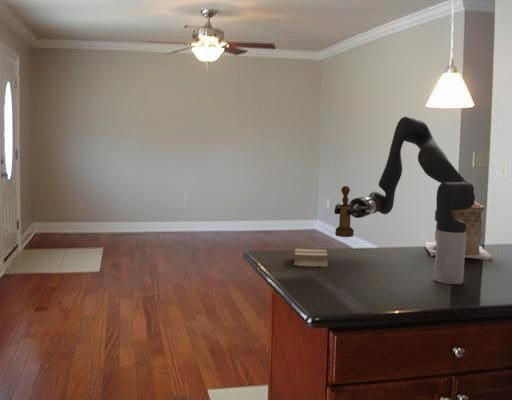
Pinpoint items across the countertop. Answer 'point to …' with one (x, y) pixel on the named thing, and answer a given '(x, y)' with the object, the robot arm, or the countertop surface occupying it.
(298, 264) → the plinth
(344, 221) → the mortar and pestle
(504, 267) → the countertop surface
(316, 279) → the countertop surface
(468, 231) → the brown stone tower
